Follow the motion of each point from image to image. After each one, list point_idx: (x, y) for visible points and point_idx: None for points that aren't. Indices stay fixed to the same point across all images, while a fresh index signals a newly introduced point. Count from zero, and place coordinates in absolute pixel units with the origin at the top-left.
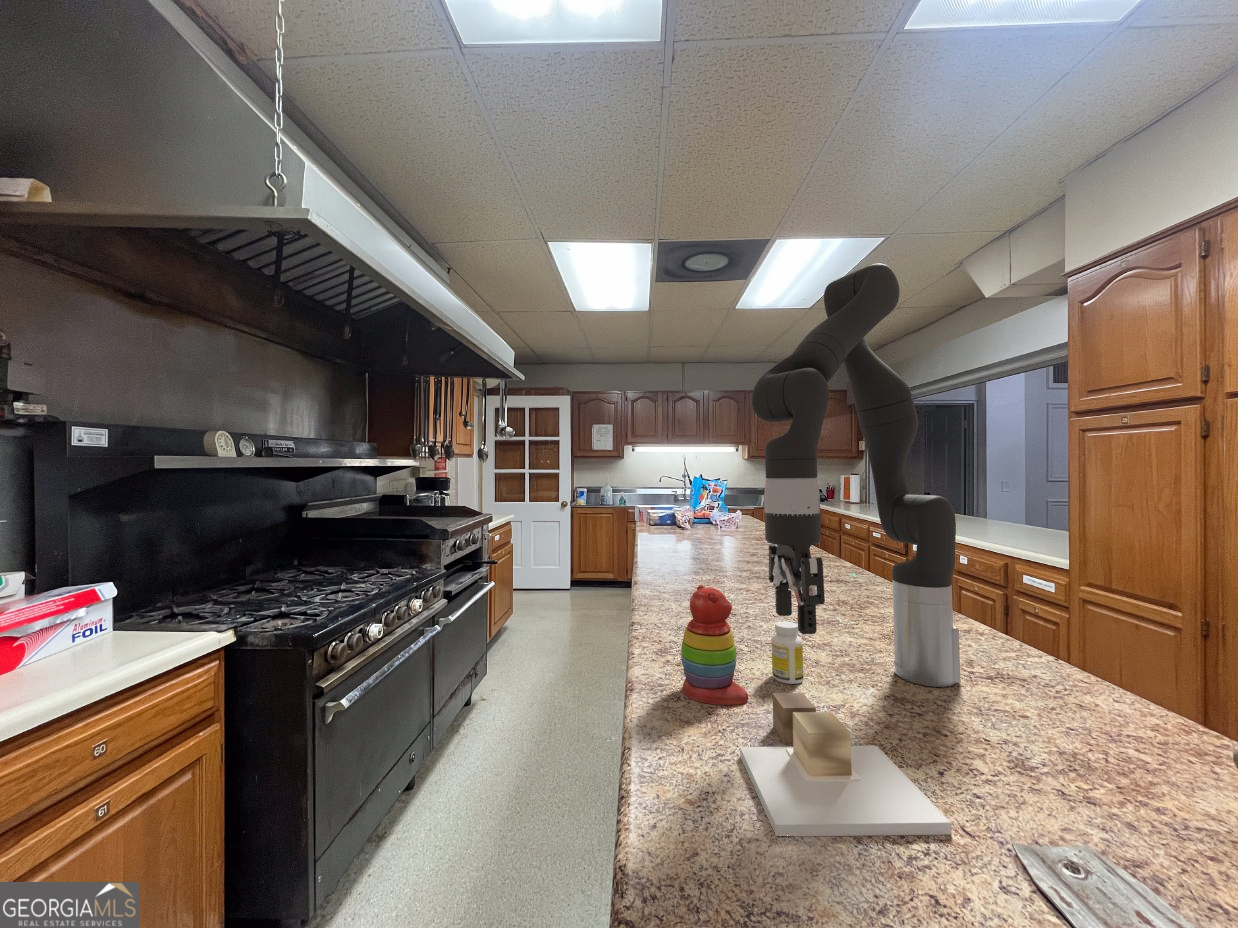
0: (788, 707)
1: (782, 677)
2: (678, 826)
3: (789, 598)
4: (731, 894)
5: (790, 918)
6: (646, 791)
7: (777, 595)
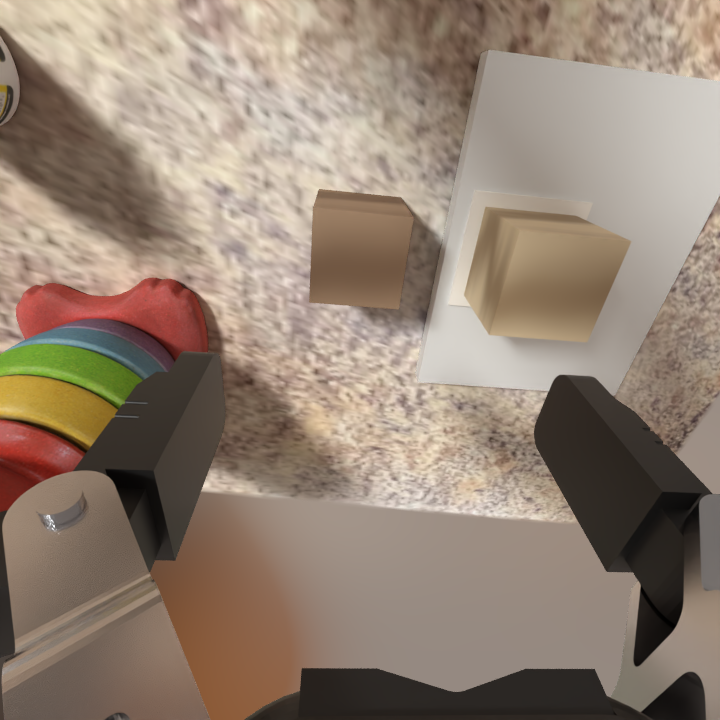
0: (397, 294)
1: (3, 112)
2: (539, 478)
3: (182, 434)
4: None
5: (705, 412)
6: (465, 500)
7: (185, 525)
